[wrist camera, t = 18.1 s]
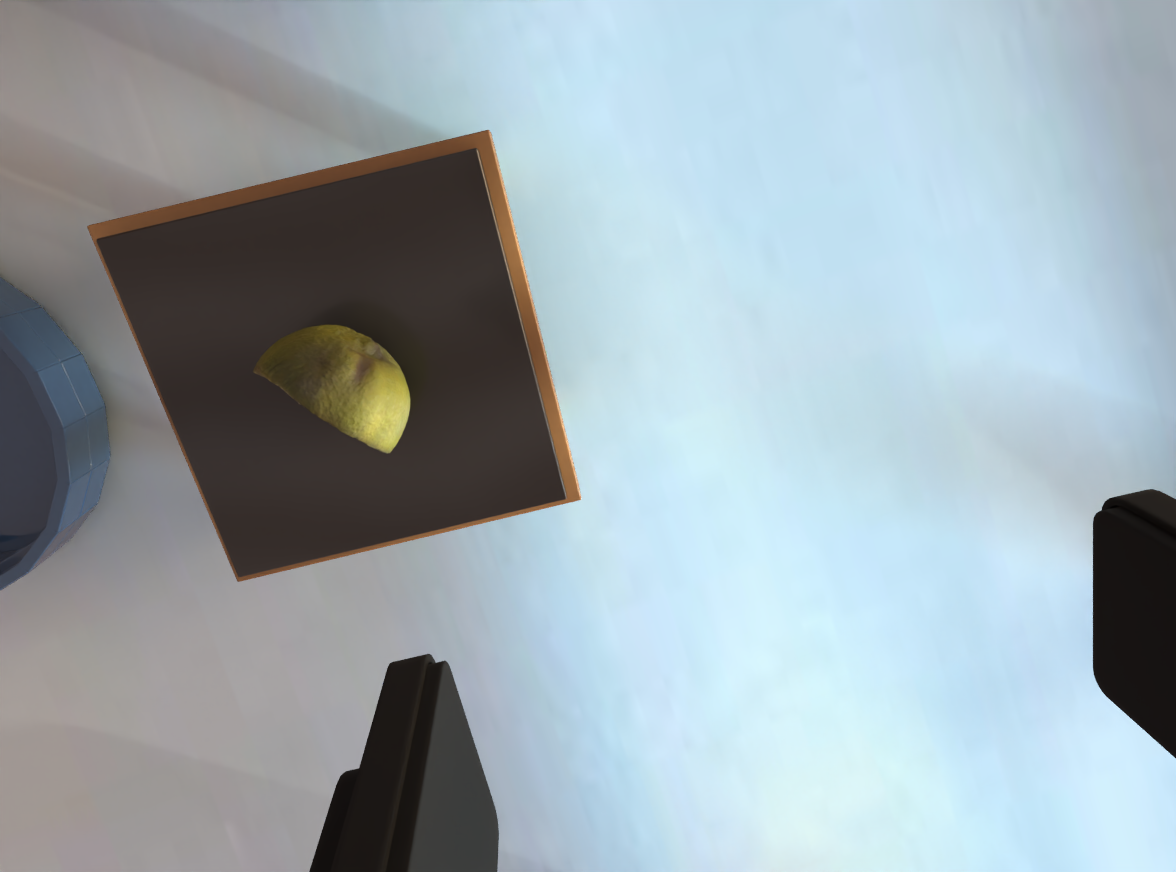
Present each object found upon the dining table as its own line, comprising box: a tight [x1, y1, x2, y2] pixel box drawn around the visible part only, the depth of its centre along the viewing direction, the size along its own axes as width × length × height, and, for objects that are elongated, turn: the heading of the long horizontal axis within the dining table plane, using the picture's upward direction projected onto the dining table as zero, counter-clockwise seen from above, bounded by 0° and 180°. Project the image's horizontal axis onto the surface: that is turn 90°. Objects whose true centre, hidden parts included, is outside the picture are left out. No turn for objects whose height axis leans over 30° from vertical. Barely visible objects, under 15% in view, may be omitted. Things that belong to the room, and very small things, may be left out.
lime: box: [253, 325, 410, 454], centre depth 25 cm, size 4×5×5 cm
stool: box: [87, 130, 581, 582], centre depth 32 cm, size 14×14×10 cm
